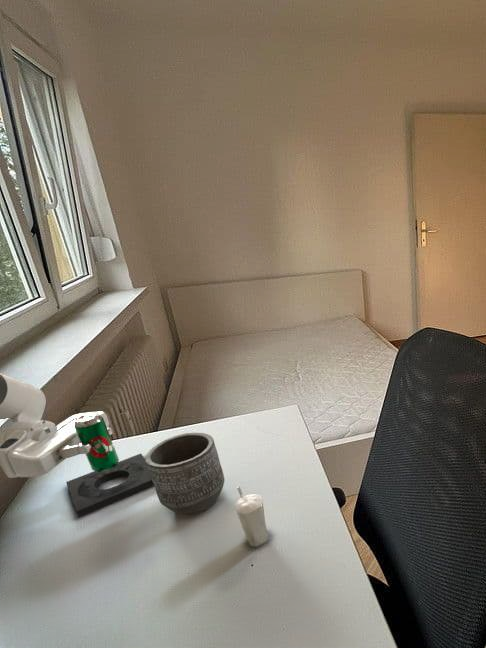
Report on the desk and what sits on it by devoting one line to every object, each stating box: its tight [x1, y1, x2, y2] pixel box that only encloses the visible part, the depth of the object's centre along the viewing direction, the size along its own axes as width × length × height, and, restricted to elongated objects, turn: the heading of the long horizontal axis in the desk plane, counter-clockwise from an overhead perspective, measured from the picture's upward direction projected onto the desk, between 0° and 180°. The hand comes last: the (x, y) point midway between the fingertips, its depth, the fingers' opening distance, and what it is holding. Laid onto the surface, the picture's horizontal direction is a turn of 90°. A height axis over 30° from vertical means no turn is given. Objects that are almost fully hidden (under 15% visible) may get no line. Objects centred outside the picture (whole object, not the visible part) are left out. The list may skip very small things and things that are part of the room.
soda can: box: [74, 411, 120, 472], centre depth 92 cm, size 5×5×12 cm
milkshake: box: [234, 486, 268, 548], centre depth 77 cm, size 4×5×10 cm
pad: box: [66, 453, 155, 518], centre depth 96 cm, size 15×14×2 cm
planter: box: [144, 432, 226, 517], centre depth 87 cm, size 12×12×13 cm
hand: (99, 439), depth 92 cm, fingers closed on soda can, 5 cm apart
